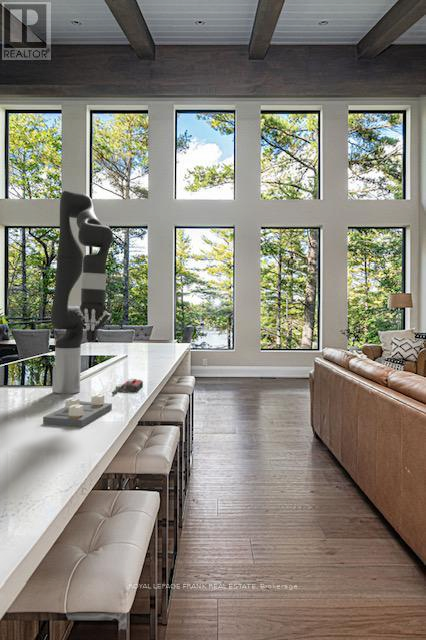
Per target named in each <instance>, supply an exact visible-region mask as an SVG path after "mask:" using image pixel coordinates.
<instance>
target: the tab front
mask: <svg viewBox="0 0 426 640" xmlns="http://www.w3.org/2000/svg"><path fill="white" fill-rule="evenodd" d="M83 410H84V405H80V404H76V405H72V406H70V407H69V416H80V415H82V414H83Z"/></svg>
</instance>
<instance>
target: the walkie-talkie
mask: <svg viewBox="0 0 426 640" xmlns="http://www.w3.org/2000/svg"><path fill="white" fill-rule="evenodd" d="M143 383H144V381H142V380H141V379H137V378H130V379H128V380H127V381H126V382H124V383H121V384H118V385H116V386H115V389H114V390H113V391H112V392H111V394H112V395H114V394H115V395H116V393H117V392H124V393H139V391H140V390H141V389H142V388H143V387H144V384H143Z"/></svg>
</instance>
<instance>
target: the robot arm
mask: <svg viewBox="0 0 426 640" xmlns="http://www.w3.org/2000/svg"><path fill="white" fill-rule="evenodd" d="M94 206H95V205H94V203H93V200H92V198H91V197H90V196H89V195H87V194H86V193H81V192H75V191H70V190H63V191H62V192H61V195H60V200H59V235H58V236H59V237H58V246H57V253H56V256H57V257H56V272H55V273H56V275H55V285H54V292H53V299H52V305H51V311H50V322H51V326H52V328H54V330H58V331H65V333H64V334H63V335H62V336H60V337H59V338H57V339H56V340H55V343H54V344H55V348H54V349H55V351H54V355H55V356H54V357H55V358H54V360H55V361H54V366H53V367H52V388H51V389H52V393H54V394H55V393H56V394H59V395H60V394H61V395H68V394H69V395H70V394H76V393H77V394H78V393H80V392H81V359H82V358H81V355H82V354H81V349H82V348H81V346H82V345H81V344H82V341H83V337H84V329H85V330H86V341H87V342H88V343H95V342H96V341H97V339H98V330H100V329H104V327H105V326H106V325H107V323H108V322H109V321H110V320H111V319H112V317H113V314H112V313H109V312H108V311H107V307H106V298H107V297H106V293H107V289H106V288H107V278H106V276H107V275H106V273H107V272H106V271H107V259H108V256H109V255H108V254H109V251H110V248H111V246H112V243H113V239H114V233H113V230H112V229H111V228H110V226H108V225H104V224H103V225H102V224H101V222H100V220H99V219H98V217H97V216H96V212H95V207H94ZM70 218H72V219H76V225H77V228H78V237H77V238H78V240H77V239H76V237H75V235H74V233H73V232H74V231H73V230H72V226H71V222H70ZM78 241H79V242H78ZM79 243H80V244H81V245H83V246H84V247H91V248H99V250H98V252H96V253H91V254H90V253H89V254H86V255H84V253H83V250H82V248H81V246H80V244H79ZM81 275H82V277H80V276H81ZM80 278H81V285H80V287H81V289H80V290H81V291H80V301H81V302H80V306H78V305H69V300H70V299H69V298H70V294H71V292H72V289H73V288H74V286H75V285H76V283H77V282H78V280H80Z"/></svg>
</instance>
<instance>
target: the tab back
mask: <svg viewBox="0 0 426 640" xmlns="http://www.w3.org/2000/svg"><path fill="white" fill-rule="evenodd" d="M90 398H91V399H90V400H91V401H90V402H91V404H95V405H101V404H103V403H105V394H101V393H98V394H94V395H92V396H91V397H90Z"/></svg>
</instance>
